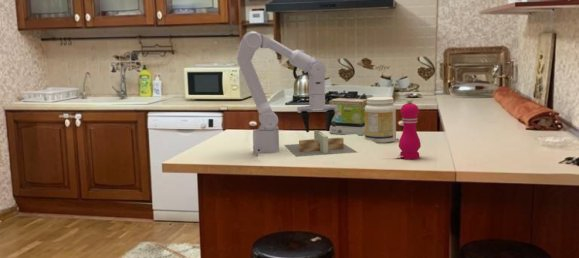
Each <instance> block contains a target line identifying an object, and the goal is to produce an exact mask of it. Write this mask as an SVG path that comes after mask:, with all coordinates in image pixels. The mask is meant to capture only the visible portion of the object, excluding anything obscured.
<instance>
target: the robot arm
mask: <svg viewBox="0 0 579 258" xmlns="http://www.w3.org/2000/svg"><path fill="white" fill-rule="evenodd" d="M259 48H260V49H269V50H272V51H273V52H275V53H278V54H279V55H281V56H283V57H285V58H286V59H288V62H289V64H290V65H292V66H293V67H295V68H298V69H299V70H301V71H302V72H306V73H308V79H309V80H308V101H309V103H308V104H309V105H306V106H305V105H304V106H297V107H296V112H297V113H299V115H300V117H301V119H302V122H303V123H304V124H303V125H304V128H305V132H306V133H309V132H310V125H309V124H310V123H309V121H310V114H309V113H313V112H314V113H315V112H318V113H319V112H324V113H325V130H326V132H330V125H331V122H332V119H333V117H334V115H335V112H334V111H337V105H329V104H326V87H325V86H326V85H325V74H326V73H327V68H326V65H325V64H324V63H323V62H322V61H319V60H316V59H317V58H316V57H315V56H311V55H309V54H306V53H305V50H304V49H300V50H299V49H295V50H292V49H290V48H289V47H287V46H286V45H284V44H282V43H280V42H279V41H277V40H275V39H274V38H272V37H269V36H267V35H264V34H261V33H259V32H258V31H255V30H251V31H248V32H246V33H244V34H243V36H242V38H241V40H240V43H239V47H238V53H237V58H236V61H237V64H238V65H239V68H240V70H241V73H242V75H243V78H244V80H245V84H246V86H247V87H248V89H249V93H250V95H251V98H252V99H253V101H254V104H255V106H256V109H257V112H258V121H259V123H260V125H259V127H258V129H254V130H253V131H252V143H253V144H252V152H253V154H254V155H255V156H257V157H258V156H260V155H259V154H264V153H276V152H279V151H280V136H279V135H280V134H279V133H280V131H279V130H280V129H279V126H278V124H279V117H278V115H277V114H276V113H275V112H274V110H272V108H271V106H270V103H269V101H268V98H267V96H266V94H265V91H264V89H263V86H262V84H261V82H260V79H259V76H258V74H257V72H256V68H255V67H254V65H253V62H252V60H253V57H254V55H255V53H256V52H257V50H259Z"/></svg>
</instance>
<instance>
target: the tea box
mask: <svg viewBox="0 0 579 258" xmlns="http://www.w3.org/2000/svg"><path fill="white" fill-rule="evenodd" d="M328 105H337V111H334V112H335V115H334V117H333V119H332V122H331V125H330V130H329V134H333V135H334V134H338V135H348V136H349V135H357V136H365V106H366V105H368V104H367V98H351V97H350V98H348V97H338V98H334V99H331V100H329V101H328Z"/></svg>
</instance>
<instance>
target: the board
mask: <svg viewBox="0 0 579 258" xmlns="http://www.w3.org/2000/svg"><path fill="white" fill-rule="evenodd" d="M283 145H284V147H285V148H286V149H288V151H289V152H290V153H291V154H293V155H294V157H296V158H297V157H298V158H299V157H309V156H310V157H312V156H313V157H314V156H326V155H338V154H339V155H341V154H353V153H358V151H356V150H355V149H353V148H352V147H350V146H348V145H346V144H345V143H344V149H338V150H328V153H326V154H324V153H322V152H321V151H309V152H300V151H299V143H294V144H283Z"/></svg>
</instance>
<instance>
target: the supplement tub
mask: <svg viewBox="0 0 579 258" xmlns="http://www.w3.org/2000/svg"><path fill="white" fill-rule="evenodd" d="M366 99H367V104H368V105H366V106H365V134H364V138H365V140H367V141H371V142H373V143H374V144H386V143H393V142H394V141H396V138H397V106H396V105H395V104H394V102H395V101H394V97H391V96H371V97H367V98H366Z"/></svg>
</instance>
